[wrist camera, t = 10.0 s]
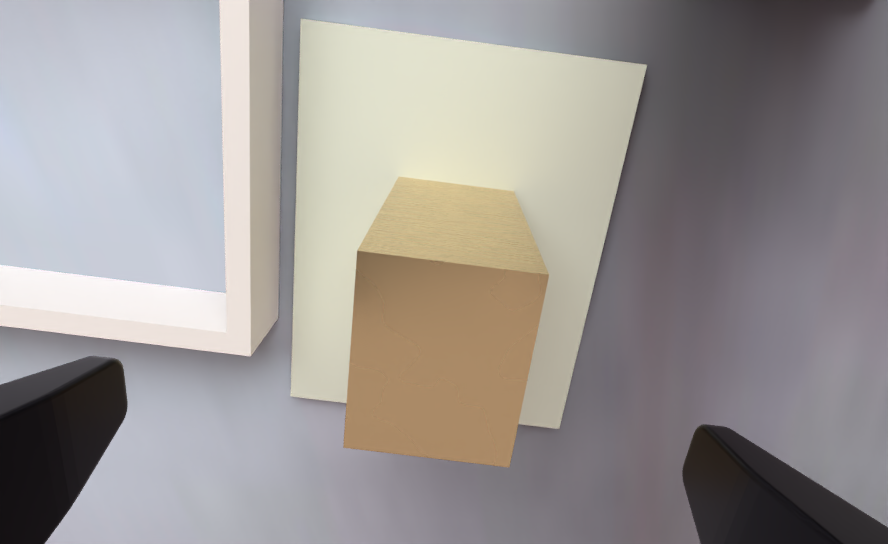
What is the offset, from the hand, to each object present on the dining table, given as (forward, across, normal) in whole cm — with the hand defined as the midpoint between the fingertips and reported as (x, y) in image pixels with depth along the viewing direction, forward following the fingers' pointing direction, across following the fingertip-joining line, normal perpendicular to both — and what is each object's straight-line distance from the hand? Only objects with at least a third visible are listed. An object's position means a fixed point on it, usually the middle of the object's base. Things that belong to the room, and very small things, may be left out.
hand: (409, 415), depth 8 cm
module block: (+11, 0, +1) cm, 11 cm away
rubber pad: (+12, 0, +1) cm, 12 cm away
